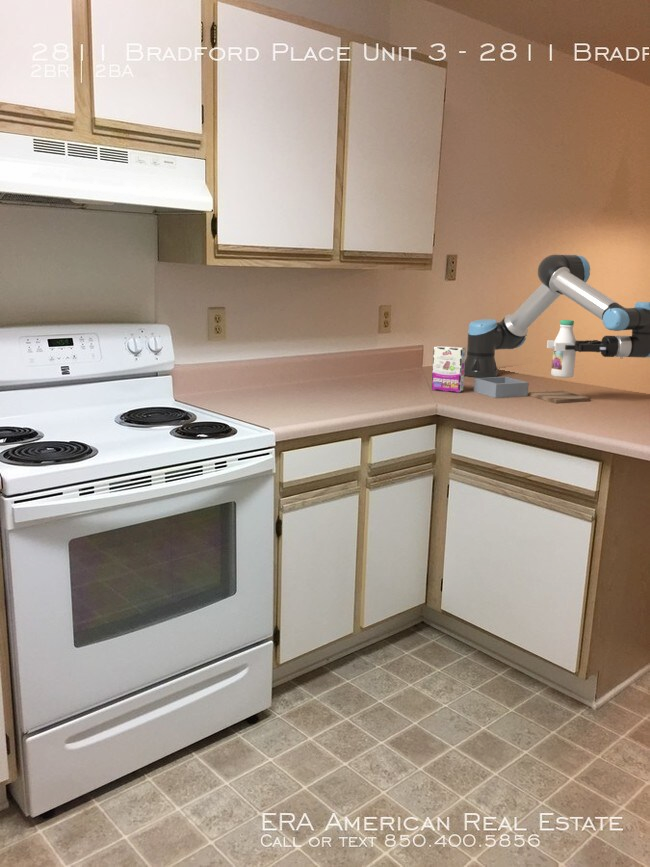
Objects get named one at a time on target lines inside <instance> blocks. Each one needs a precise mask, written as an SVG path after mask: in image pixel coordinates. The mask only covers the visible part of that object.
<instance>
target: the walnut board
mask: <svg viewBox="0 0 650 867" xmlns="http://www.w3.org/2000/svg"><path fill="white" fill-rule="evenodd" d="M528 396H529V397H531V398H535V399H539V400H542V401H547V402H550V403H553V404H566V403H581V402H583V403H584V402H591V397H589V396H585V395H581V394H578V393H574V392H569V391H565V390H550V391H549V390H547V391H533V392H529V391H528Z"/></svg>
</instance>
